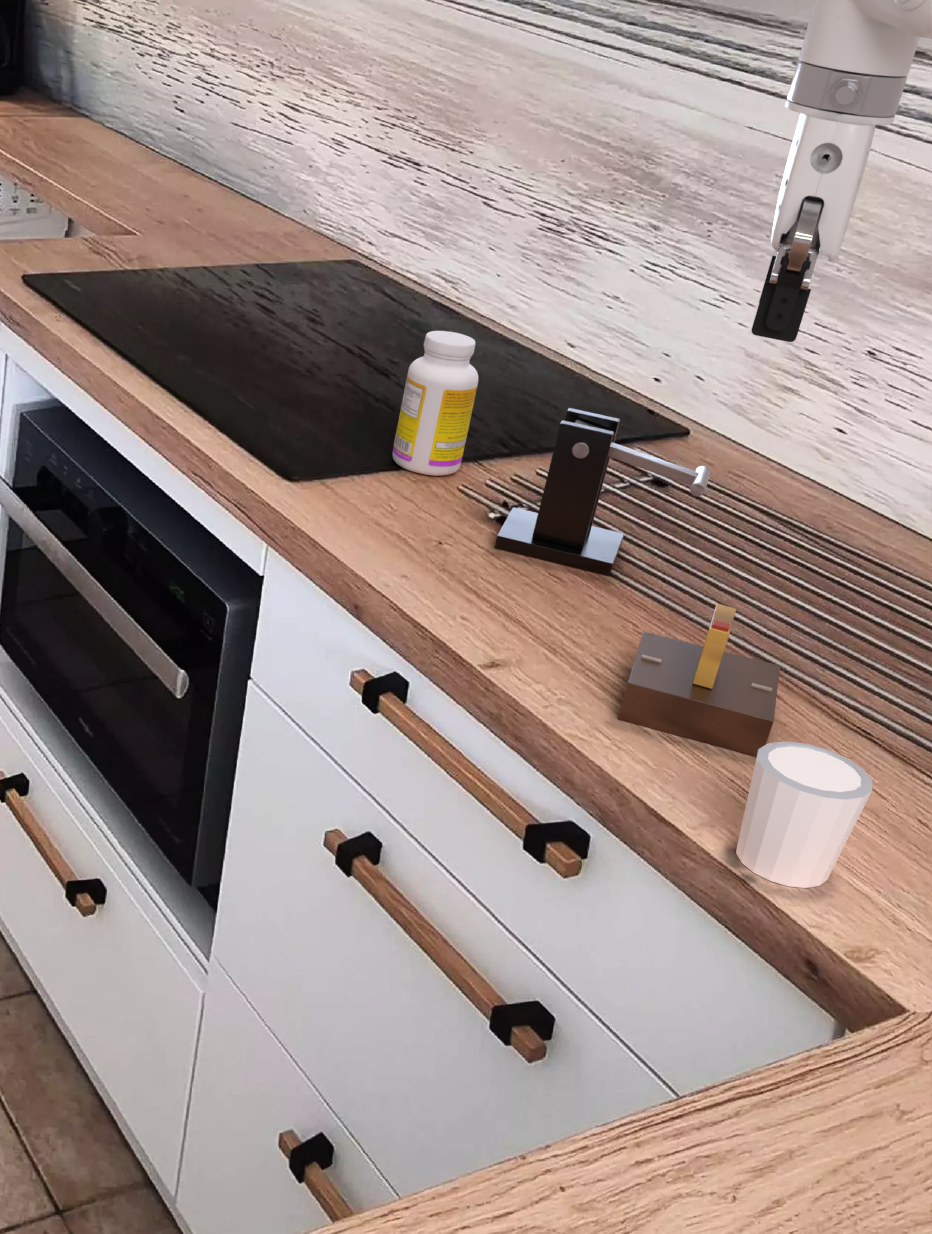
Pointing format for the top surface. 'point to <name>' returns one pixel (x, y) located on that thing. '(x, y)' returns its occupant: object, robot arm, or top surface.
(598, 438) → the handle bracket
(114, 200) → the top surface
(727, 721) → the plate
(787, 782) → the shot glass
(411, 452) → the supplement bottle
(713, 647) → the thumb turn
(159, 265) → the top surface
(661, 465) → the door handle
